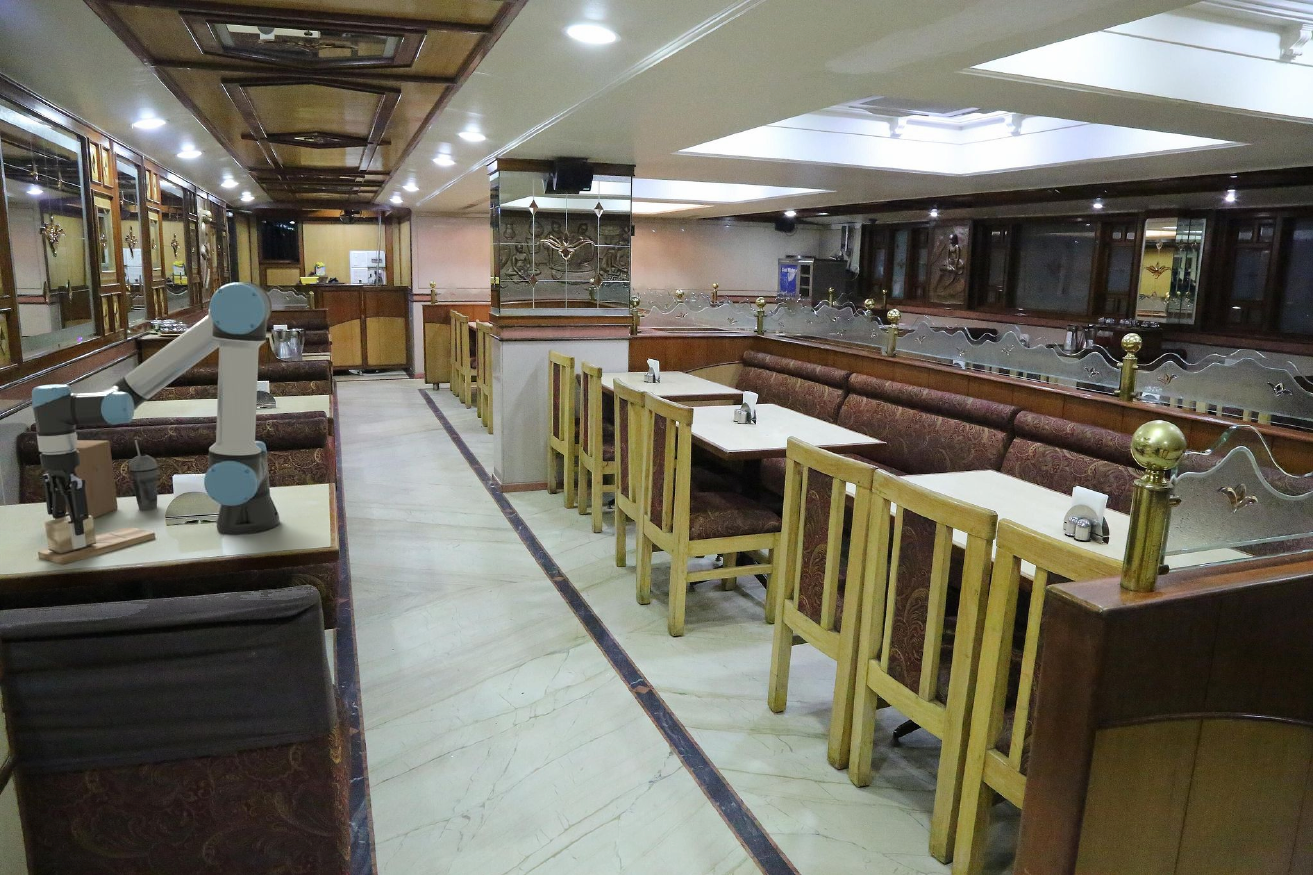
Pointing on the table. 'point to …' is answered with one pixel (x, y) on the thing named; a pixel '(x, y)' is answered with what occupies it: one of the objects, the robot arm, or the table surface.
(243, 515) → the robot arm
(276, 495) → the table surface
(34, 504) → the table surface
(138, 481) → the beverage cup
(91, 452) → the wooden block
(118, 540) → the board
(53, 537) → the block
